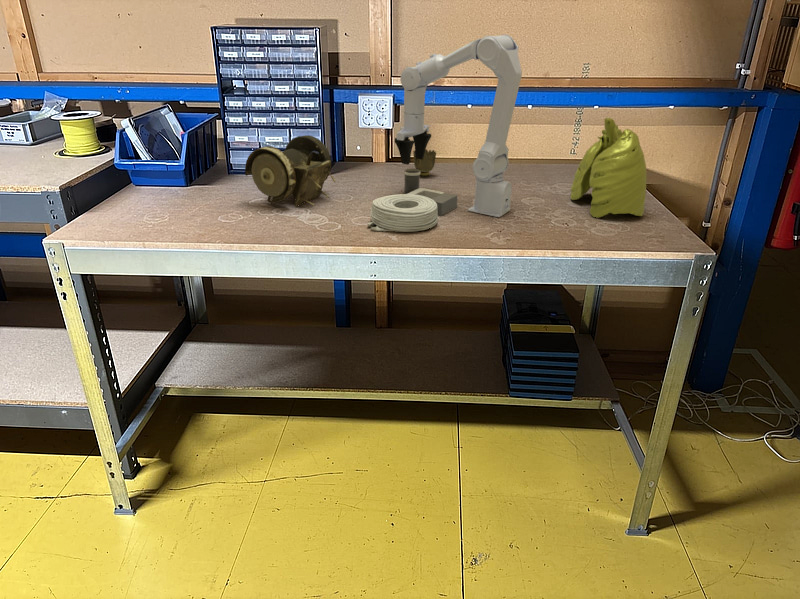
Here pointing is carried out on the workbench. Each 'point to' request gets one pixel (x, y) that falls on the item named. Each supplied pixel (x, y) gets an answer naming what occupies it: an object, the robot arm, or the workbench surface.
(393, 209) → the cable
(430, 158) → the olive spiky cup
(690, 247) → the workbench surface
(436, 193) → the hollow square frame
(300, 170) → the bench grinder
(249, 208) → the workbench surface
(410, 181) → the knob
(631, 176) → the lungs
